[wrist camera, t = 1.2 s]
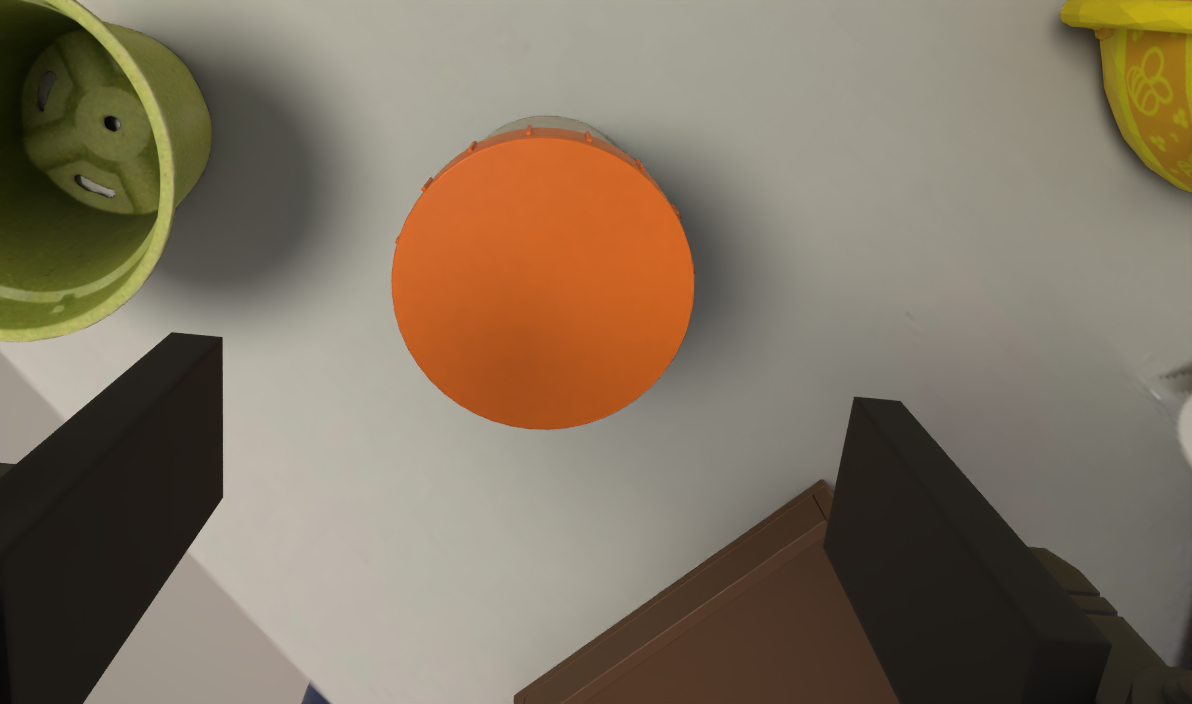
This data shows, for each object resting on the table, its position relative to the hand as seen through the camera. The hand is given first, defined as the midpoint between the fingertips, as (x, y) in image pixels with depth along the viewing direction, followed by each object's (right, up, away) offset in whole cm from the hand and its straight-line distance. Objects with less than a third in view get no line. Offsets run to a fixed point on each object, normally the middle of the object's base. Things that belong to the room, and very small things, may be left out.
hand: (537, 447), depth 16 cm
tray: (+8, -13, +25) cm, 29 cm away
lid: (0, +3, +9) cm, 10 cm away
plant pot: (-15, +9, +17) cm, 24 cm away
